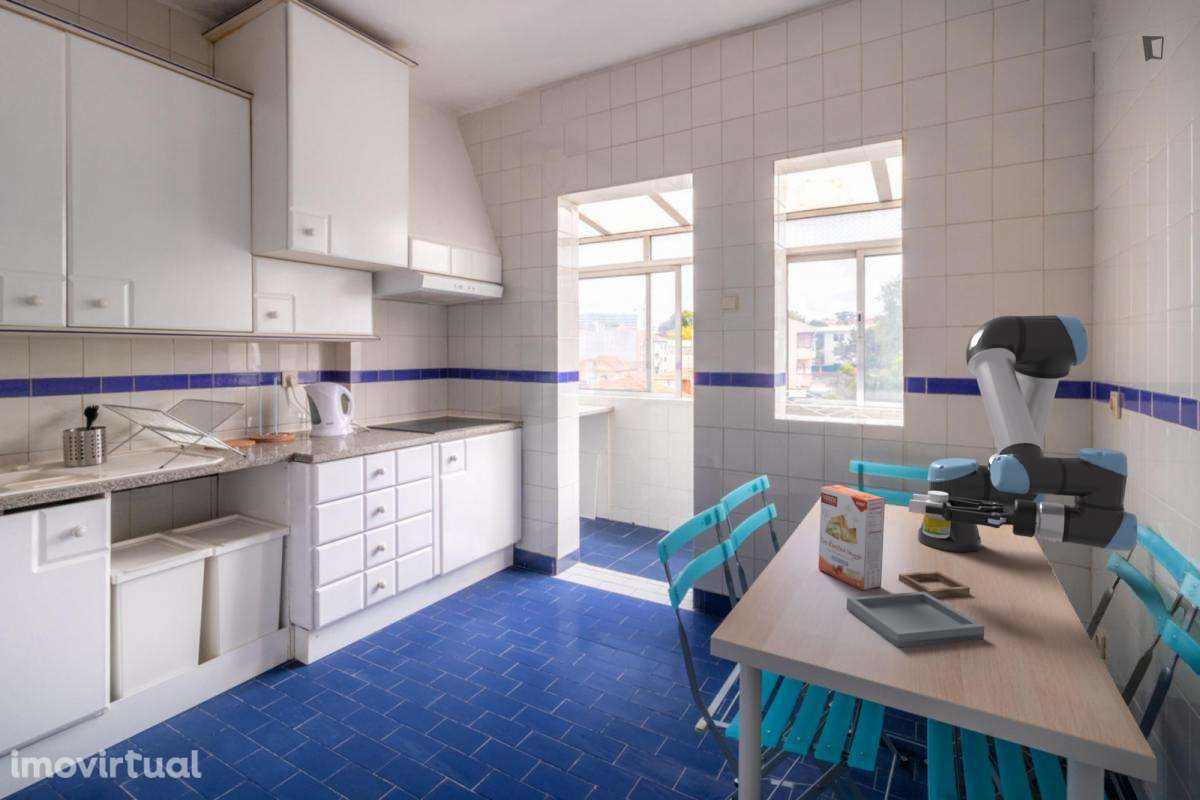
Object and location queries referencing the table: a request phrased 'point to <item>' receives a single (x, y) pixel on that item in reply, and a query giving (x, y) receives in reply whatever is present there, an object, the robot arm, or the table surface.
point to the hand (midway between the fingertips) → (911, 502)
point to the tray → (914, 619)
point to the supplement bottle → (936, 517)
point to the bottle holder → (954, 588)
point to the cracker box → (851, 536)
